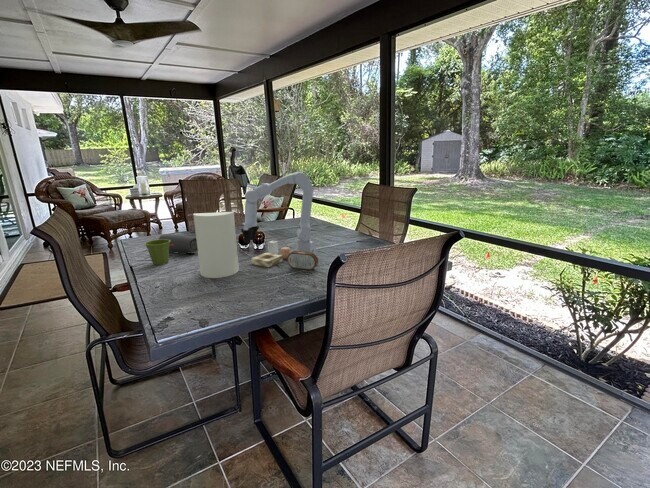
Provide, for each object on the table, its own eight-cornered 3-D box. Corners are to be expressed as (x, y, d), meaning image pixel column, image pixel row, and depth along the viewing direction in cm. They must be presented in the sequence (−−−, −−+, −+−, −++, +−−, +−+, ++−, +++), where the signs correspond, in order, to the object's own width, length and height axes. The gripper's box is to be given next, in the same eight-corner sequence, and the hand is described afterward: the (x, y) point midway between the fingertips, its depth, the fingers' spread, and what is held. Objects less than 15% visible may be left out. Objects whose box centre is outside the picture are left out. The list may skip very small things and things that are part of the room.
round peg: (292, 257, 178) (291, 248, 176) (286, 259, 173) (285, 250, 172) (284, 255, 180) (284, 246, 179) (278, 258, 176) (278, 249, 175)
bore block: (282, 261, 171) (282, 255, 170) (268, 267, 162) (268, 261, 161) (266, 257, 176) (266, 252, 176) (251, 263, 167) (251, 258, 167)
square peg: (278, 253, 184) (277, 241, 182) (273, 255, 181) (273, 243, 179) (272, 252, 186) (272, 240, 184) (268, 254, 183) (267, 242, 181)
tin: (318, 269, 158) (318, 252, 156) (316, 271, 156) (315, 254, 153) (289, 266, 163) (288, 249, 161) (286, 268, 160) (285, 251, 158)
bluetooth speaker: (158, 252, 189) (155, 235, 187) (171, 248, 198) (168, 232, 195) (189, 256, 181) (187, 239, 178) (201, 252, 189) (199, 235, 187)
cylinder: (237, 276, 151) (231, 215, 143) (197, 279, 148) (189, 216, 141) (240, 264, 167) (235, 208, 160) (204, 266, 164) (197, 210, 157)
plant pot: (178, 261, 174) (175, 240, 171) (159, 268, 164) (155, 245, 161) (162, 258, 179) (159, 238, 176) (142, 265, 169) (138, 243, 166)
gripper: (247, 212, 172) (247, 237, 176) (237, 216, 158) (237, 244, 162) (261, 213, 172) (260, 239, 175) (252, 217, 158) (251, 245, 161)
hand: (250, 241), depth 168 cm, fingers open, 7 cm apart
